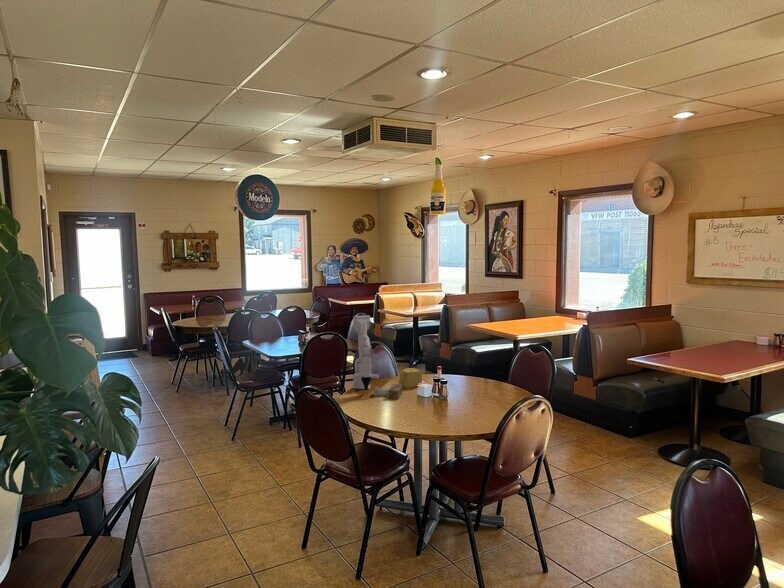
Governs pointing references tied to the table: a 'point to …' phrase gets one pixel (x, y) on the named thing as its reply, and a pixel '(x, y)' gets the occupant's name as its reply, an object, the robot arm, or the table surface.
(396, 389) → the walnut tunnel block
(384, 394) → the steel key pin
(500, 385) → the table surface
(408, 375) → the cheese
